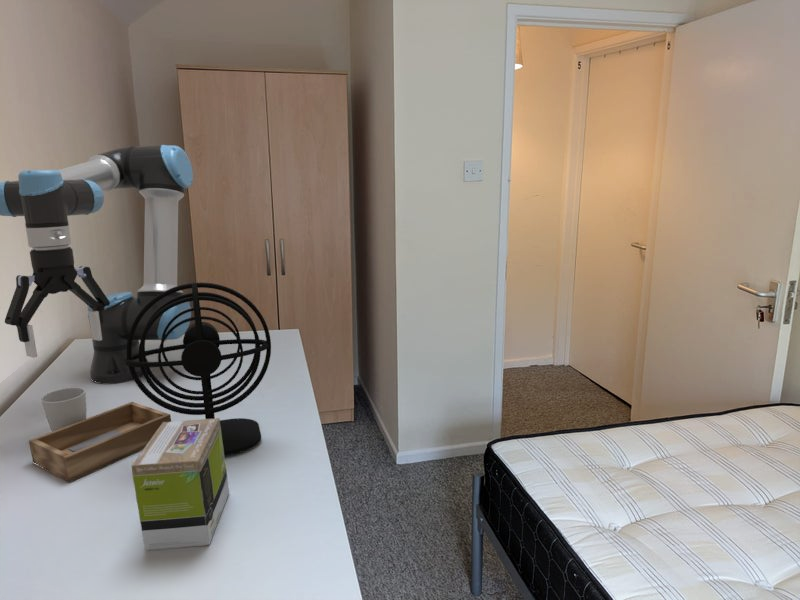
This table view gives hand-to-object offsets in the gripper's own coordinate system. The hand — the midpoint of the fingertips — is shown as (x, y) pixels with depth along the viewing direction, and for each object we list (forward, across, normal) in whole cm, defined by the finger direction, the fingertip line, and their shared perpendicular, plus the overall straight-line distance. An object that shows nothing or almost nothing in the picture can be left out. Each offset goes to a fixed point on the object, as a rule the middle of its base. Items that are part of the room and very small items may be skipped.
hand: (66, 347), depth 121 cm
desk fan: (+20, +11, -29) cm, 37 cm away
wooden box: (+20, -1, -11) cm, 23 cm away
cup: (+20, -1, +1) cm, 20 cm away
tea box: (+21, -8, -47) cm, 52 cm away
